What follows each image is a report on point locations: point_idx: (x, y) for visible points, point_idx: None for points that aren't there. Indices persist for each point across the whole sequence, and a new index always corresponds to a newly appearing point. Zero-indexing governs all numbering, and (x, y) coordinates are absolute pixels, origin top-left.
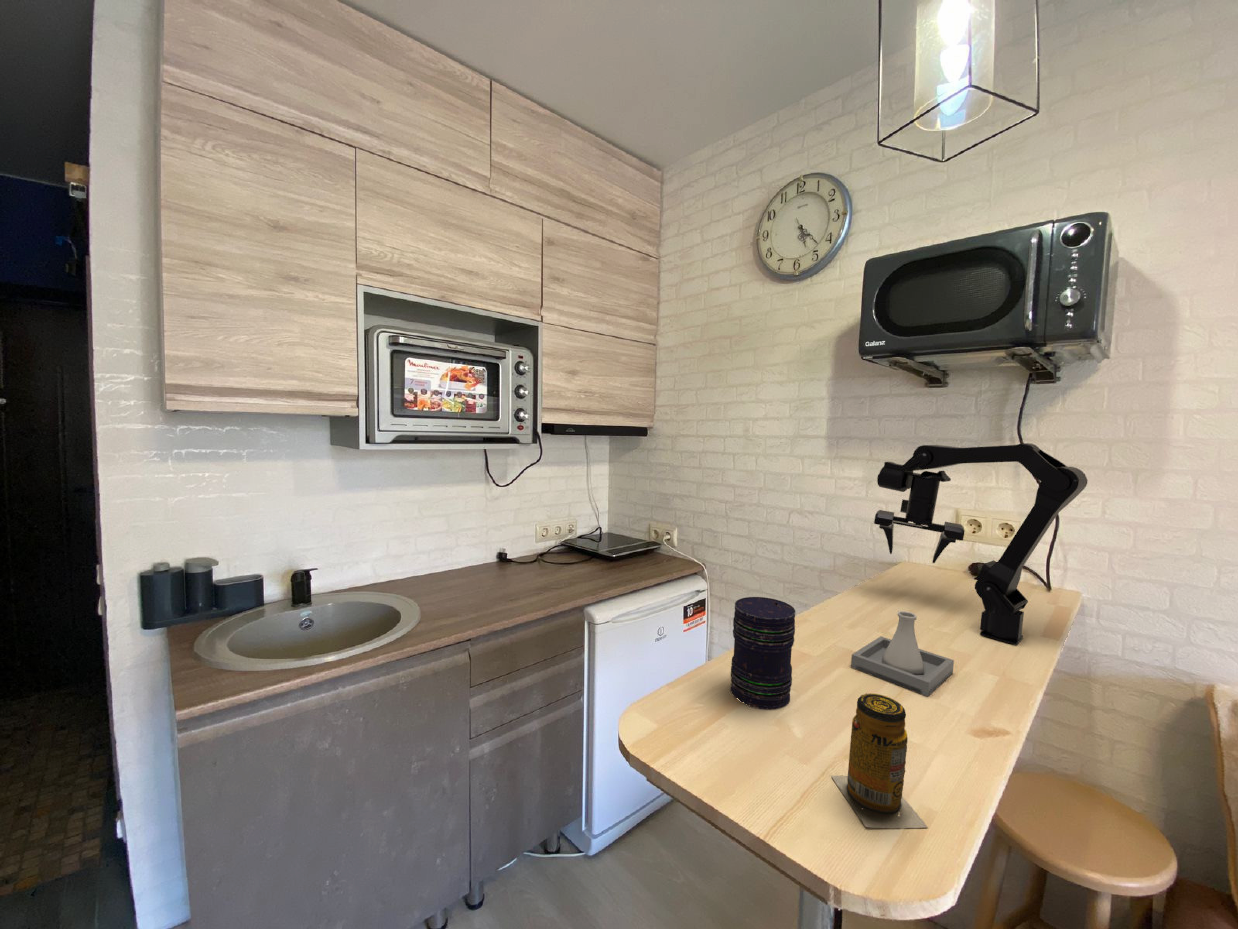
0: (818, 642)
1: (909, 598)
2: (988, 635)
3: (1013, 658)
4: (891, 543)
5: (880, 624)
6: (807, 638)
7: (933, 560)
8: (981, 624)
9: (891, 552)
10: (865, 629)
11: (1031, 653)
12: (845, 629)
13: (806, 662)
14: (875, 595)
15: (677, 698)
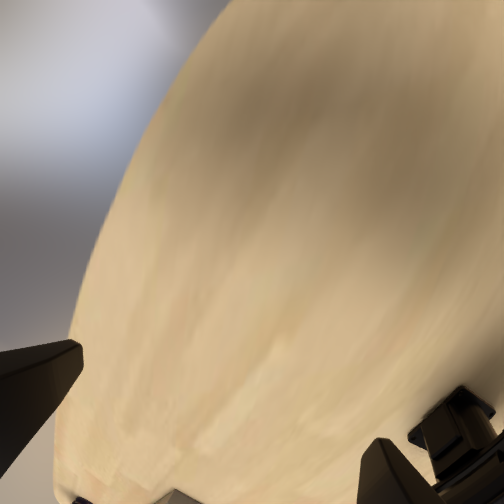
0: (101, 463)
1: (325, 152)
2: (417, 445)
3: None
4: (25, 438)
5: (180, 418)
6: (88, 452)
7: (360, 480)
8: (423, 436)
9: (74, 381)
10: (152, 438)
11: None
12: (122, 435)
13: (105, 492)
14: (198, 165)
15: (63, 499)
